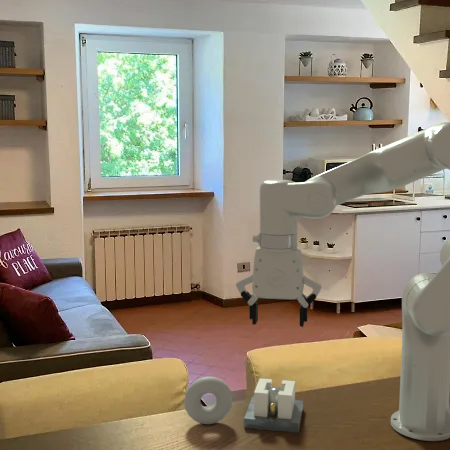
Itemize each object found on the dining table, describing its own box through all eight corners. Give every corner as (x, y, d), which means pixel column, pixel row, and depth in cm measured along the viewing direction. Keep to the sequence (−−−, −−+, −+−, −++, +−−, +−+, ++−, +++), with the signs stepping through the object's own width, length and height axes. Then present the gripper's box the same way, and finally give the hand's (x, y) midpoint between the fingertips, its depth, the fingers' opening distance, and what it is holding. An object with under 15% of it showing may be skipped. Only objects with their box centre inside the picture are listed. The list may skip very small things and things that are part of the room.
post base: (302, 409, 136) (303, 380, 135) (298, 432, 125) (299, 401, 124) (252, 405, 138) (252, 376, 137) (244, 427, 127) (244, 397, 127)
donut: (231, 418, 132) (231, 372, 130) (233, 425, 128) (233, 378, 127) (183, 421, 130) (183, 375, 129) (184, 428, 127) (184, 381, 126)
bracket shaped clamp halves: (291, 419, 127) (291, 395, 126) (253, 415, 128) (254, 392, 128) (294, 403, 134) (295, 381, 134) (259, 400, 136) (259, 378, 135)
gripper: (232, 243, 125) (233, 327, 127) (321, 245, 121) (320, 331, 124) (239, 237, 132) (239, 316, 134) (322, 239, 129) (321, 320, 131)
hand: (278, 323), depth 129 cm, fingers open, 9 cm apart
